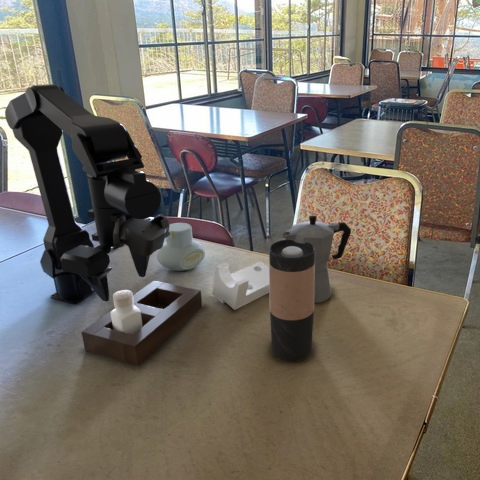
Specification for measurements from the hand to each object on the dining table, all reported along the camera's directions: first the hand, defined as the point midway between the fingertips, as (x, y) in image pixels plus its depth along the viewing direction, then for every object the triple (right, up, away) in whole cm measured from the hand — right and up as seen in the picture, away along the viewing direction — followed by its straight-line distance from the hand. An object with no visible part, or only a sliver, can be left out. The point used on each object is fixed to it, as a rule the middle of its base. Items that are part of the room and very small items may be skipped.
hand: (124, 288), depth 83 cm
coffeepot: (+33, -3, +22) cm, 40 cm away
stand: (+1, -8, +8) cm, 11 cm away
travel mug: (+29, -11, +3) cm, 31 cm away
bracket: (+19, -3, +20) cm, 28 cm away
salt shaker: (-1, -10, +4) cm, 11 cm away
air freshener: (+1, +2, +32) cm, 32 cm away
